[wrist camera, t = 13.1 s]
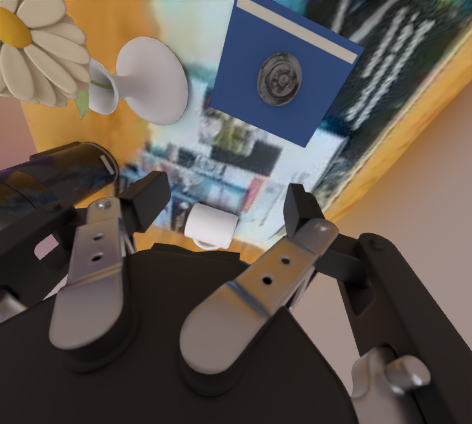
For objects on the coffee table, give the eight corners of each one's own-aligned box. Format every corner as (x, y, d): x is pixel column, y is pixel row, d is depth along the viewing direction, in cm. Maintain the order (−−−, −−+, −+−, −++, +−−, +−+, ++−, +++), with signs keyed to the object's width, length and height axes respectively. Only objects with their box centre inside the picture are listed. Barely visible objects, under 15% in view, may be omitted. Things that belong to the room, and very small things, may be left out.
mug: (199, 195, 42) (186, 216, 35) (239, 209, 42) (234, 232, 36) (191, 231, 49) (180, 254, 42) (226, 242, 49) (220, 266, 43)
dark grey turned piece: (258, 57, 26) (253, 41, 16) (301, 53, 25) (323, 35, 15) (257, 104, 29) (252, 115, 19) (295, 103, 28) (309, 113, 19)
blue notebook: (210, 105, 31) (209, 106, 30) (239, -16, 22) (238, -18, 22) (304, 147, 32) (304, 148, 32) (363, 48, 24) (365, 47, 24)
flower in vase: (188, 131, 34) (69, 204, 13) (128, 112, 33) (-89, 157, 13) (197, 38, 26) (-48, -120, 6) (119, 11, 25) (-455, -269, 5)
